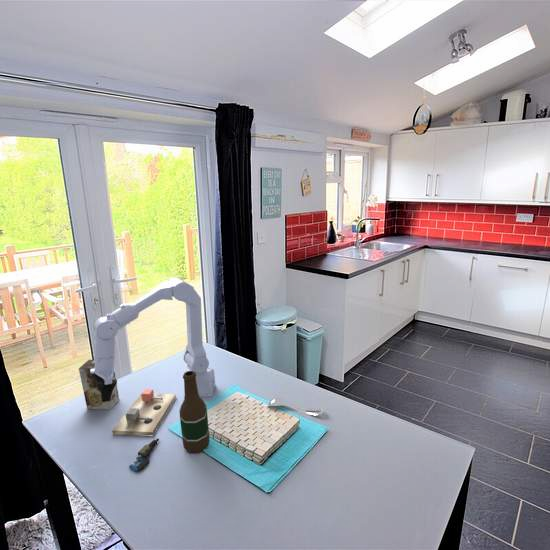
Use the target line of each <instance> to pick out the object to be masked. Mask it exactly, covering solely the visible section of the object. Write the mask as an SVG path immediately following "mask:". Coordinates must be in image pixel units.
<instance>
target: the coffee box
mask: <svg viewBox="0 0 550 550" xmlns="http://www.w3.org/2000/svg"><path fill="white" fill-rule="evenodd" d="M94 368H95V359H88V360H86V361H85V362H84V363H83V364H82V365H81V366H80V367H78V372H79V373H78V374H79V377H80V382H81V385H82V391H83V396H84V401H85V405H86V409H87V410H112V409H113V408H114V407H115V405H116V404H117V403H119V401H120V395H119V390H118V383H117V384H116V385H115V387H114V389H113V392H112V395H111V399H110V401H107V402H102V398H101V392H100V391H99V390H98V387H97V383H96V377H95V375H94V373H93V374H91V373H90V369H94ZM115 379H116V380H117V378H116V372H115V371H114V374H113V376H112V380H115Z"/></svg>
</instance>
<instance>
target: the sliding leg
mask: <svg viewBox="0 0 550 550" xmlns="http://www.w3.org/2000/svg"><path fill="white" fill-rule="evenodd" d="M140 394H141V396H142V401H146V402H151V400H152V399H158V400H163V398H162V397H154V394H155V393H154V389H153V388H144V390H142V392H141V393H140Z"/></svg>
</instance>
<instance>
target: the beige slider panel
mask: <svg viewBox="0 0 550 550" xmlns="http://www.w3.org/2000/svg"><path fill="white" fill-rule="evenodd" d="M154 397H162V398H163V400H158V399H152V400H151V402H146V401H142V396H141V393H140V395H139V396H138V397H137V398H136V399H135V401H134V402H133V403H132V405H131V406H130V407H129V408H128V410H126V412H125V414H124V415H123V416H122V417H121V418H120V420H119V421H118V422H117V423H116V425H115V426H114V428H112V435H117V436H120V435H121V436H137V435H153V434H154V435H155V433H156V432H157V430H158V429H157V428H159V427H160V425H161V424H160V423H162V422H163V420H164V419H163V418H165V417H166V415H167V414H168V412H169V411H170V409H171V407H172V406H173V404H174V402H175V401H176V399H177V395H176V393H175V394H174V393H154ZM171 405H172V406H171ZM169 408H170V409H169ZM168 410H169V411H168ZM166 413H167V414H166ZM161 421H162V422H161ZM158 426H159V427H158ZM156 429H157V430H156ZM155 431H156V432H155ZM154 432H155V433H154ZM154 435H153V436H154Z"/></svg>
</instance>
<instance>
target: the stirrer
mask: <svg viewBox="0 0 550 550" xmlns="http://www.w3.org/2000/svg"><path fill="white" fill-rule="evenodd" d="M268 405H270V406H269V407H278V406H284V407H288V408H290V409H292V410H294V411H296V412H298V413H299V412H300V413H303V414H305V415H307V416H320V415H322V414H323V413H325V409H324V408H315V409H302V408H297V407H295V406H292V405H290V404H289V403H286V402H285V401H284V400H283V399H281V398H280V397H273V398H271V400H270V401H269V402H268V404H267V406H268Z"/></svg>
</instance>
